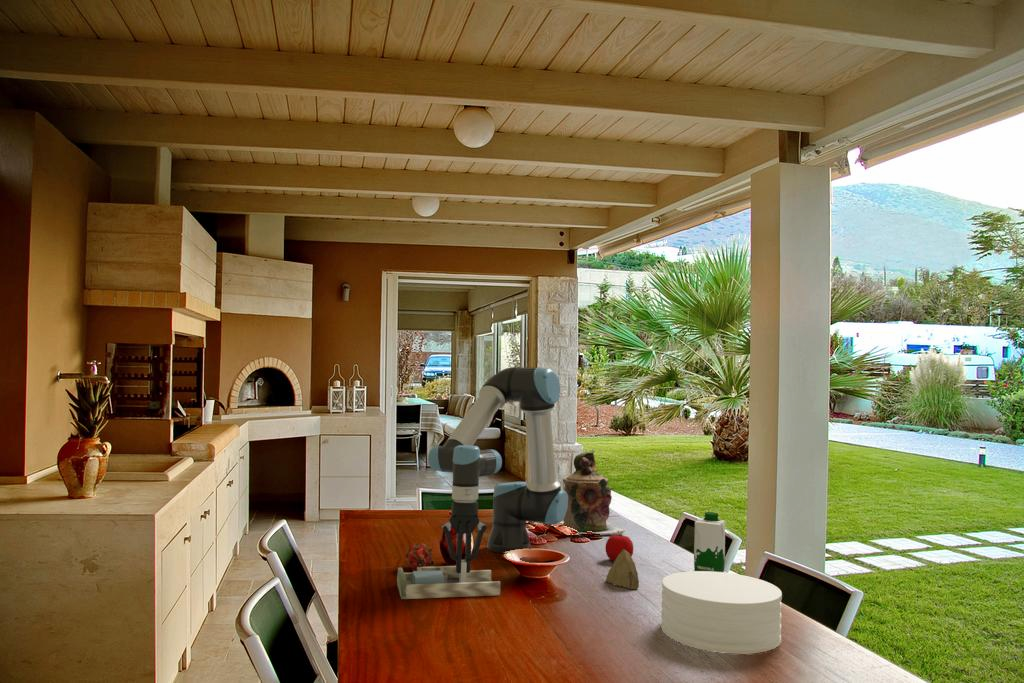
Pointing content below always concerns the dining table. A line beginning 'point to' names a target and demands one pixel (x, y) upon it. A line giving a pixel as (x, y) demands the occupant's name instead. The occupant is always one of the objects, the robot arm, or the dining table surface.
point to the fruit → (618, 546)
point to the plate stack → (721, 611)
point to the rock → (623, 571)
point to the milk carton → (709, 543)
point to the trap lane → (448, 584)
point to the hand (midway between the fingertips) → (462, 584)
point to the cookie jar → (588, 498)
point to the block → (428, 577)
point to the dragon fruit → (419, 556)
